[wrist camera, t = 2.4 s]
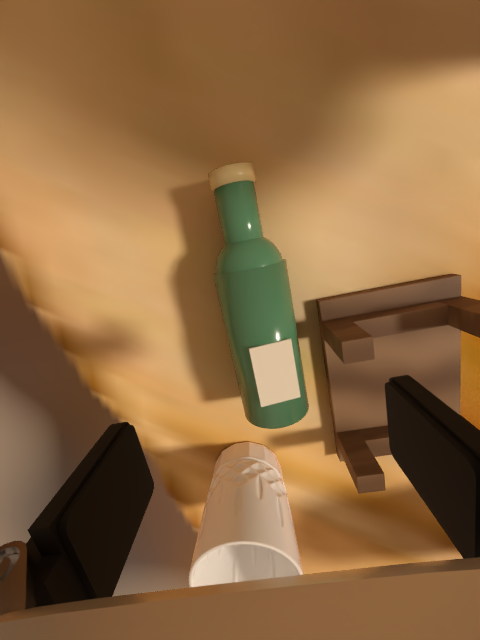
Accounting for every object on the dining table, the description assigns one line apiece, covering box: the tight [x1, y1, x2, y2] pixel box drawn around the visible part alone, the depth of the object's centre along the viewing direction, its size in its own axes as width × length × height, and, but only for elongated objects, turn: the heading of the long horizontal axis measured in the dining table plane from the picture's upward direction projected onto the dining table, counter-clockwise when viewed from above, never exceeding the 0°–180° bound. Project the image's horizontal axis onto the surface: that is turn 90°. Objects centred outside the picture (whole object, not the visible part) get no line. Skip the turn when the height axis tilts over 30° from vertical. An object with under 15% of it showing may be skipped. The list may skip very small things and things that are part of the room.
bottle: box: [208, 163, 309, 429], centre depth 20 cm, size 18×5×6 cm, turn 12°
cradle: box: [317, 274, 480, 493], centre depth 21 cm, size 16×11×6 cm
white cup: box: [189, 442, 303, 587], centre depth 23 cm, size 8×8×10 cm
